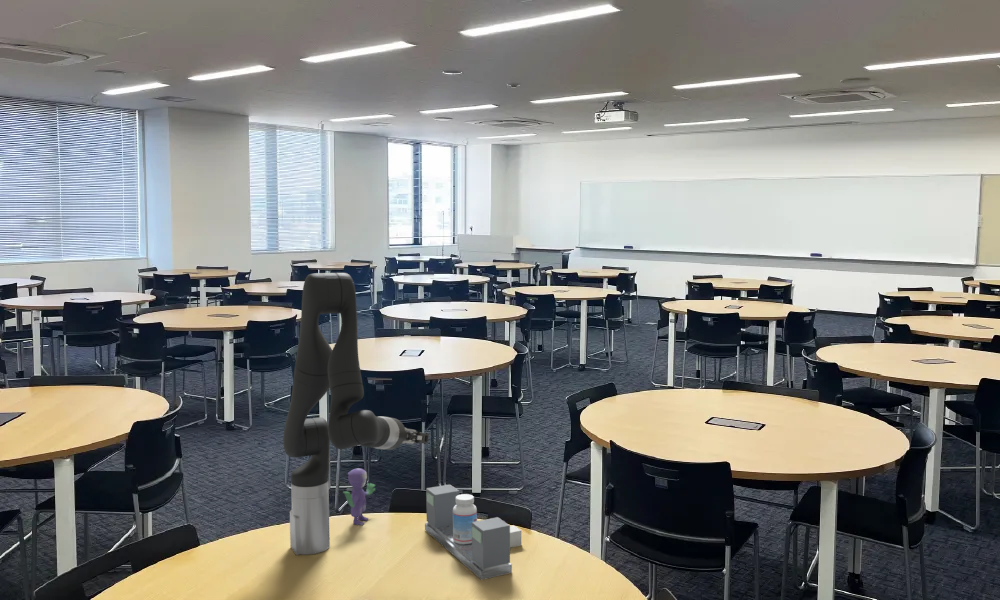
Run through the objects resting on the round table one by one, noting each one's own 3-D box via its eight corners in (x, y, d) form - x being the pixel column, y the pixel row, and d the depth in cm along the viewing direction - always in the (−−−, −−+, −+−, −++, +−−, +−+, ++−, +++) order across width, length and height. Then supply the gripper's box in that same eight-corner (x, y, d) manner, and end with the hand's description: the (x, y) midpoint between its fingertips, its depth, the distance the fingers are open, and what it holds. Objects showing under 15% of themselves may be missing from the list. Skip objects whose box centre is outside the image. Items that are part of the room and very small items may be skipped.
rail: (481, 579, 170) (481, 569, 170) (425, 530, 200) (424, 521, 200) (511, 572, 174) (511, 562, 174) (451, 524, 204) (451, 516, 204)
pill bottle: (480, 543, 185) (480, 499, 184) (456, 546, 183) (456, 502, 182) (472, 534, 191) (472, 491, 190) (450, 537, 189) (449, 494, 188)
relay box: (501, 550, 187) (500, 534, 187) (493, 544, 191) (493, 529, 191) (521, 545, 190) (521, 530, 190) (513, 540, 194) (513, 525, 193)
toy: (354, 534, 197) (353, 479, 196) (334, 533, 198) (333, 478, 197) (379, 510, 215) (378, 459, 214) (361, 509, 216) (360, 458, 215)
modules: (482, 569, 170) (482, 531, 170) (425, 521, 200) (425, 488, 199) (509, 562, 174) (509, 525, 173) (450, 516, 204) (450, 484, 203)
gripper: (414, 420, 173) (437, 424, 188) (359, 413, 177) (385, 417, 192) (409, 453, 171) (432, 454, 187) (353, 444, 175) (381, 446, 191)
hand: (408, 435), depth 189 cm, fingers open, 8 cm apart
